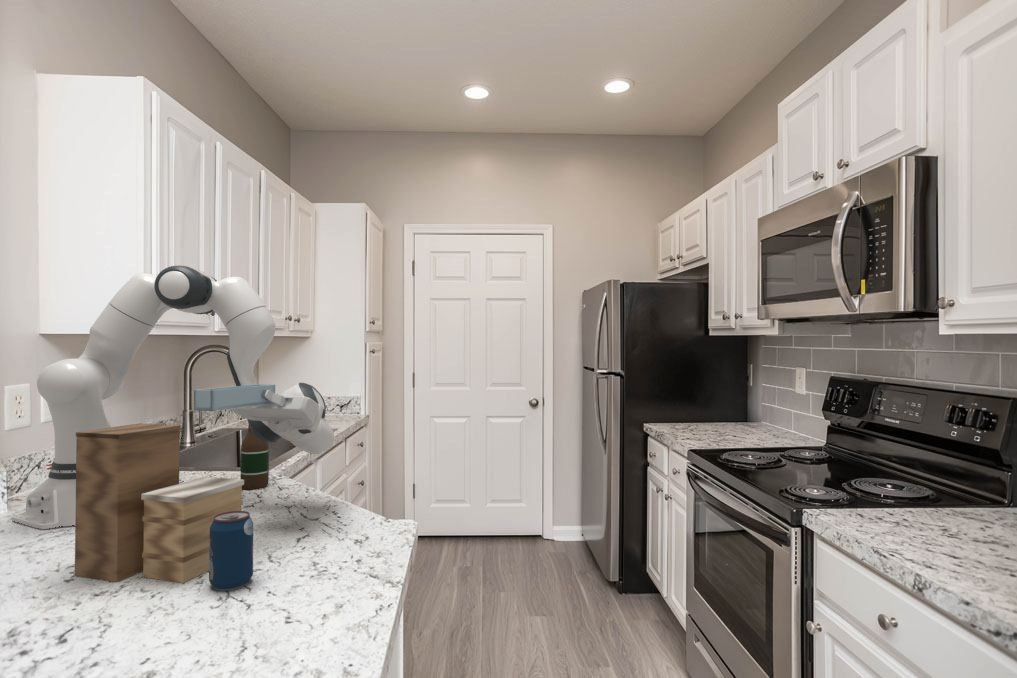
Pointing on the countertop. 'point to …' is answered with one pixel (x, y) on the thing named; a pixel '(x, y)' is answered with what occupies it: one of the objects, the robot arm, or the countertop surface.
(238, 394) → the blue-gray container
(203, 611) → the countertop surface
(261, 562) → the countertop surface
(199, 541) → the oak crate
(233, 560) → the soda can
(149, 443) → the walnut stand
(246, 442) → the beer bottle
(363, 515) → the countertop surface
